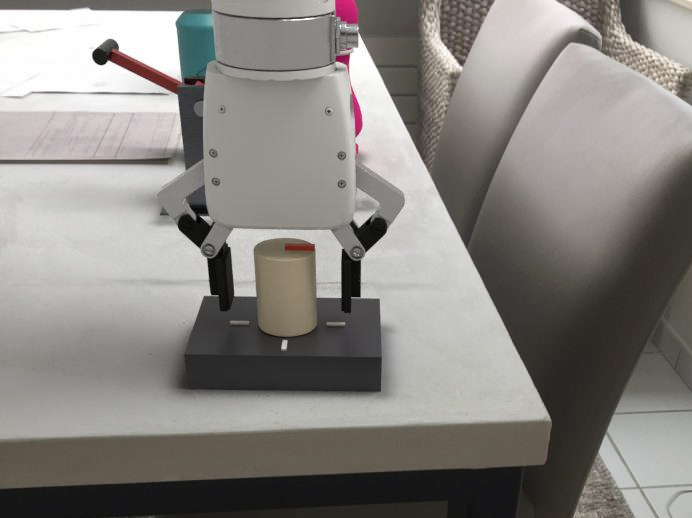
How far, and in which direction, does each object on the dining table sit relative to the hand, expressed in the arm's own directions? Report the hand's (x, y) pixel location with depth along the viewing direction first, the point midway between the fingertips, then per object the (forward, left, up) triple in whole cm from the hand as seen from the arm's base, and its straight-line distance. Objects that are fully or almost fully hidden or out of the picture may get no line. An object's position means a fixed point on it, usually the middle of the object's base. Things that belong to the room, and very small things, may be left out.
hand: (287, 303), depth 66 cm
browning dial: (0, 0, -2) cm, 2 cm away
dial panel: (0, 0, -5) cm, 5 cm away
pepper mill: (+2, +53, -5) cm, 53 cm away
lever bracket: (-10, +33, -5) cm, 35 cm away
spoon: (+5, +40, -5) cm, 41 cm away
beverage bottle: (-12, +49, -5) cm, 51 cm away
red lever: (-15, +33, +7) cm, 37 cm away
